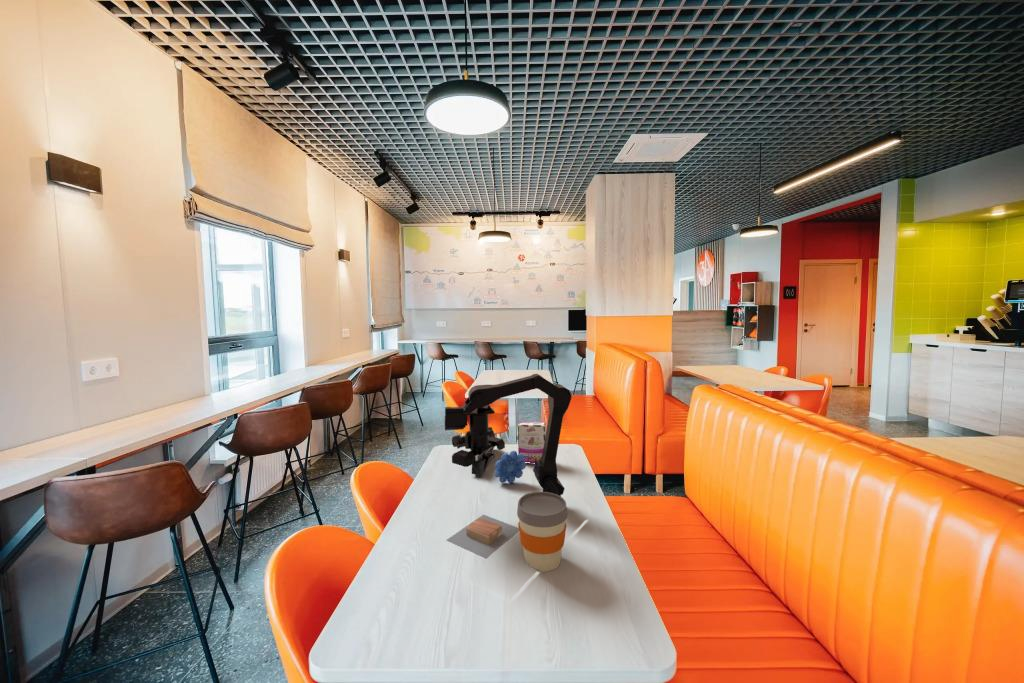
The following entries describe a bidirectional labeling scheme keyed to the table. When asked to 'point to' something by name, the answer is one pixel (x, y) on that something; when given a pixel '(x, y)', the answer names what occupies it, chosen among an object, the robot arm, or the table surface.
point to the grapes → (510, 467)
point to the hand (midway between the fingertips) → (480, 477)
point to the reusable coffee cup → (542, 529)
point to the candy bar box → (531, 440)
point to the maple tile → (484, 531)
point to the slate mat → (481, 547)
